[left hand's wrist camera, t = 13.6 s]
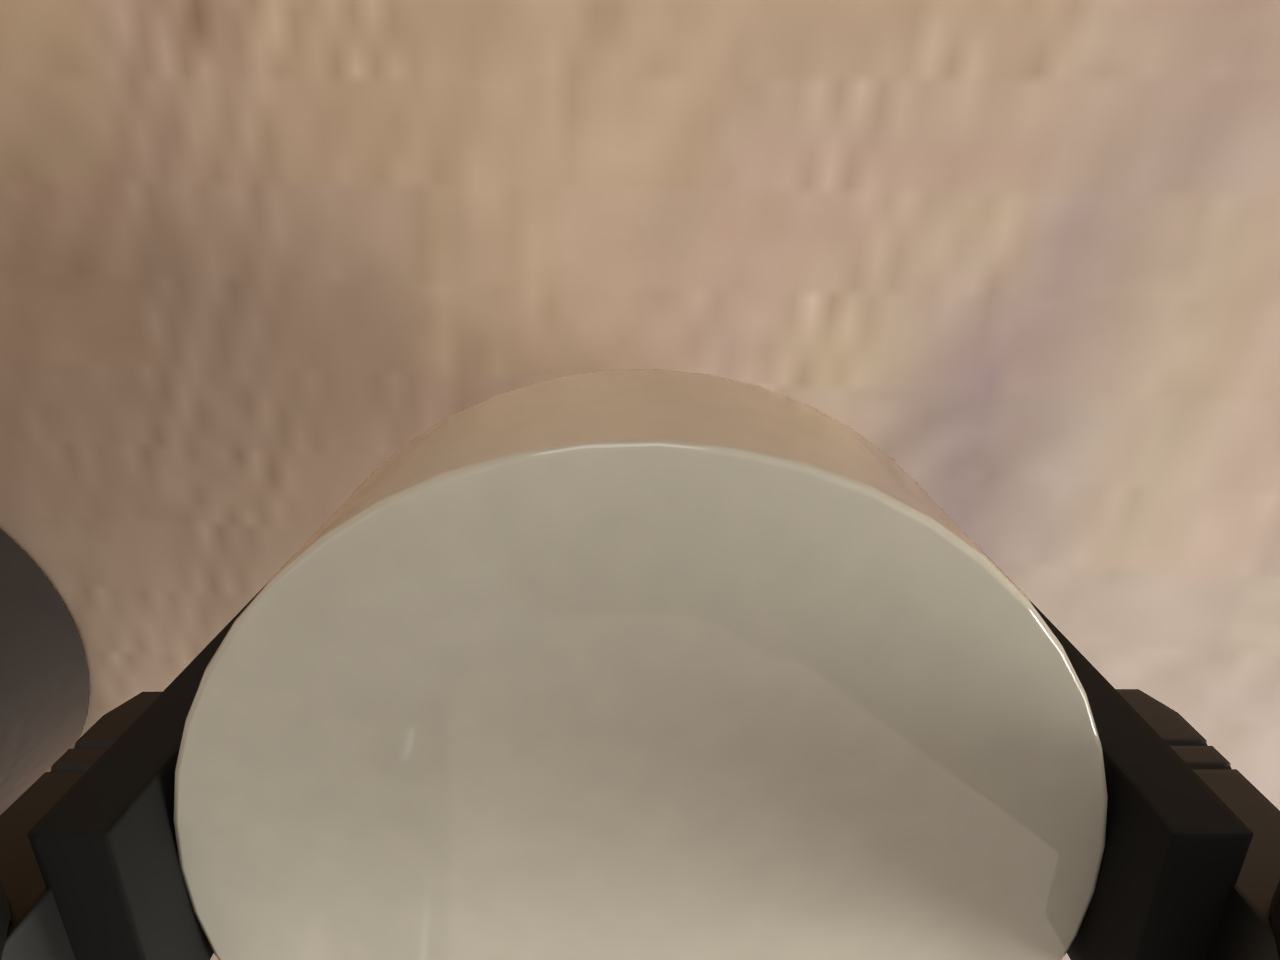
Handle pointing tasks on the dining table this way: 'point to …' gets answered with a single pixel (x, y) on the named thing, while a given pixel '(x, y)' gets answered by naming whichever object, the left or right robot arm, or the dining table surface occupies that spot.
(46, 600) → the mallet
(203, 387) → the dining table surface
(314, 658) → the lid
